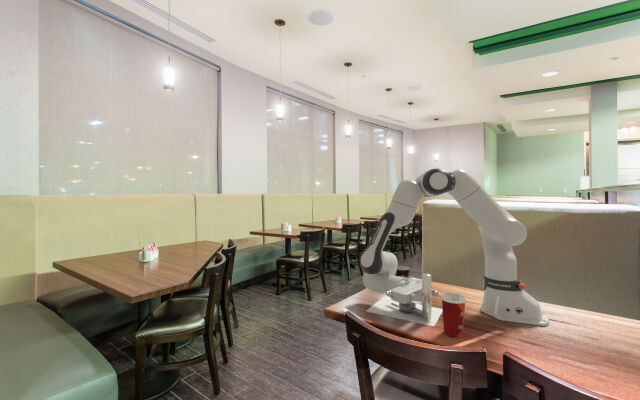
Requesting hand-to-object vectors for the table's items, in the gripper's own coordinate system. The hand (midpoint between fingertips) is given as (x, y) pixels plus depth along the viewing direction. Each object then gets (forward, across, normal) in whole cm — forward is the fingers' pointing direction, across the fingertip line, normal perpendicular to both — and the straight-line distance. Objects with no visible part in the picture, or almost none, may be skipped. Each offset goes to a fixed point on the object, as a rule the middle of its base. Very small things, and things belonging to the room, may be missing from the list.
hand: (431, 296), depth 106 cm
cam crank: (-10, +2, +9) cm, 14 cm away
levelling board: (-12, +3, +10) cm, 16 cm away
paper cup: (+9, -3, +11) cm, 15 cm away
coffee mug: (-34, +32, +11) cm, 48 cm away
